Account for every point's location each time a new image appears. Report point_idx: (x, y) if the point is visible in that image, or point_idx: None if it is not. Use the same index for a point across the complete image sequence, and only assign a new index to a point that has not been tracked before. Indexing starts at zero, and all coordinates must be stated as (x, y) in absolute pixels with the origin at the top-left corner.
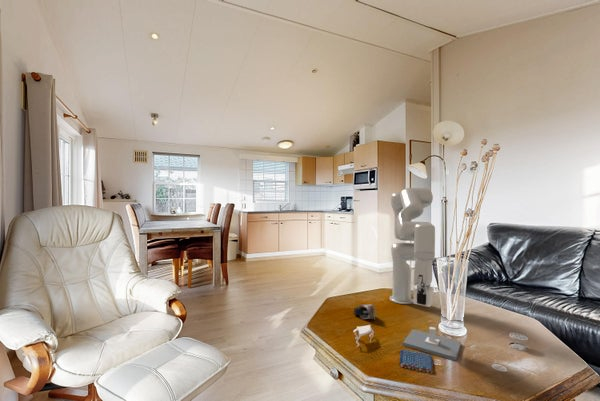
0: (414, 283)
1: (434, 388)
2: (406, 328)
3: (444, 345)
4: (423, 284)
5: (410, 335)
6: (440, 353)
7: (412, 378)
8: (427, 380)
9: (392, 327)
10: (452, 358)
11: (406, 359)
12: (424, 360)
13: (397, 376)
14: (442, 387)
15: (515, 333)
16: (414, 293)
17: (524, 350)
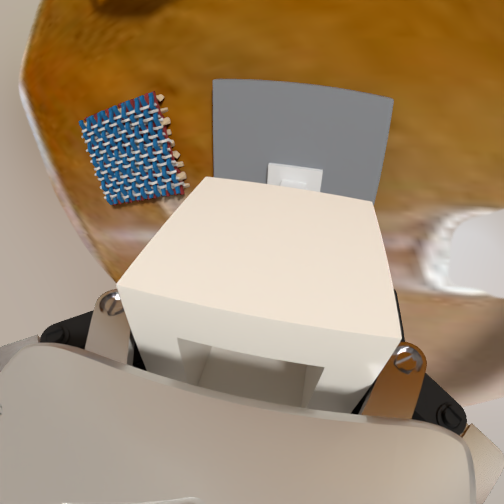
0: (15, 359)
1: (72, 210)
2: (417, 68)
3: None
4: (361, 408)
5: (308, 95)
6: None
7: (67, 163)
8: (83, 194)
9: (390, 2)
10: None
11: (102, 132)
12: (129, 181)
13: (52, 132)
14: (86, 224)
15: None
16: (158, 245)
17: None
